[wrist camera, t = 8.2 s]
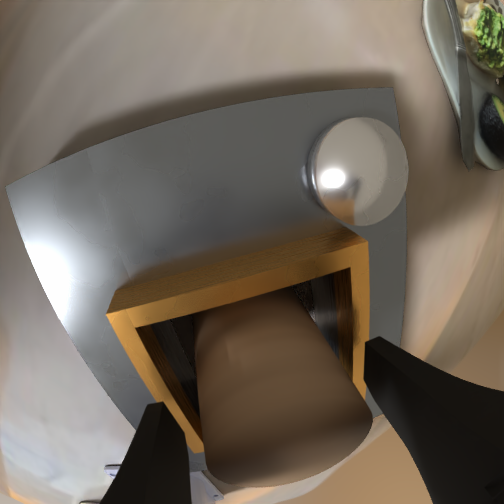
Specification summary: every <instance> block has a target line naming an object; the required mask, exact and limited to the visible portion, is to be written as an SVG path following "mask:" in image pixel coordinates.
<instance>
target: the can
mask: <svg viewBox="0 0 504 504" xmlns="http://www.w3.org/2000/svg"><path fill="white" fill-rule="evenodd" d="M80 504H99V503H95V502H81V503H80Z"/></svg>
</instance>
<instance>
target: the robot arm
mask: <svg viewBox="0 0 504 504" xmlns="http://www.w3.org/2000/svg"><path fill="white" fill-rule="evenodd" d="M363 380H364V382H365V384H366V386H367V388H368V390H369V392H370V393H371V395H372V397H373V399H374V401H375V402H376V404H377V405H378V407H379V408H380V410H381V411H382V412H383V414H384V415H385V417H386V418H387V420H388V421H389V422H390V424H391V425H392V427H393V428H394V429H395V431H396V432H397V434H398V435H399V436H400V438H401V439H402V441H403V442H404V444H405V445H406V447H407V448H408V450H409V452H410V454H411V456H412V458H413V460H414V462H415V464H416V466H417V468H418V470H419V472H420V474H421V476H422V478H423V480H424V483H425V485H426V487H427V490H428V492H429V494H430V497H431V499H432V502H433V504H504V391H499V390H495V389H491V388H487V387H483V386H480V385H476V384H474V383H471V382H468V381H465V380H463V379H460V378H458V377H455V376H453V375H451V374H448V373H446V372H444V371H442V370H440V369H438V368H436V367H434V366H432V365H430V364H428V363H426V362H424V361H422V360H420V359H419V358H417V357H415V356H413V355H411V354H410V353H408V352H406V351H404V350H403V349H401V348H399V347H398V346H396V345H394V344H393V343H391V342H389V341H387V340H386V339H384V338H382V337H381V336H378V337H376V338H373V339H371V340H368V341H366V342H365V352H364V374H363ZM104 472H105V473H107V474H108V475H109V476H110V477H111V478H113V479H114V480H113V482H112V484H111V485H110V487H109V489H108V490H107V492H106V494H105V495H104V497H103V499H102V500H101V502H100V503H99V504H215V501H218V500H222V499H224V496H223V494H222V493H221V492H220V491H219V490H218V489H217V488H216V487H215V486H214V485H213V484H212V483H211V482H210V481H209V479H208V478H207V477H206V476H205V475H204V474H203V473H202V472H201V471H198V472H191V473H190V467H189V455H188V448H187V443H186V437H185V432H184V431H183V429H182V428H181V427H180V425H179V424H178V422H177V421H176V419H175V418H174V416H173V415H172V414H171V412H170V411H169V409H168V408H167V406H166V404H165V403H164V401H162V402H157V403H151V404H147V406H146V408H145V410H144V413H143V415H142V418H141V420H140V423H139V425H138V428H137V430H136V433H135V435H134V437H133V440H132V442H131V444H130V447H129V449H128V451H127V453H126V456H125V458H124V460H123V462H122V464H121V466H106V467H104Z"/></svg>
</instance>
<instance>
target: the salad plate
mask: <svg viewBox="0 0 504 504" xmlns="http://www.w3.org/2000/svg"><path fill="white" fill-rule="evenodd" d="M422 27H423V31H424V34H425V37H426V40H427V43H428V46H429V49H430V52H431V55H432V57H433V59H434V62H435V64H436V66H437V69H438V71H439V73H440V76H441V78H442V80H443V83H444V85H445V88H446V91H447V94H448V97H449V100H450V103H451V106H452V109H453V112H454V115H455V118H456V122H457V125H458V131H459V137H460V145H461V151H462V158H463V161H464V163H465V165H466V167H467V169H468V171H471V169H472V168H473V167H474V161H476V162H478V163H479V164H480V165H482V166H484V167H485V168H486V169H489V170H494V171H499V170H501V169H504V6H503V4H502V3H501V2H500V1H499V0H423V16H422ZM497 78H498V79H499V85H498V84H497V82H496V79H497Z"/></svg>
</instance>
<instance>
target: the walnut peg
mask: <svg viewBox="0 0 504 504" xmlns="http://www.w3.org/2000/svg"><path fill="white" fill-rule="evenodd" d="M192 316H193V334H194V350H195V364H196V376H197V388H198V399H199V409H200V419H201V428H202V437H203V445H204V453H205V461H206V466H207V469H208V470H209V472H210V473H211V474H212V475H213V476H214V477H216V478H217V479H219V480H221V481H223V482H225V483H228V484H231V485H236V486H242V487H272V486H279V485H284V484H289V483H293V482H297V481H300V480H303V479H306V478H309V477H311V476H314V475H316V474H319V473H321V472H323V471H325V470H327V469H329V468H331V467H332V466H334V465H336V464H337V463H339V462H340V461H342V460H343V459H345V458H346V457H347V456H349V455H350V454H351V453H352V452H353V451H354V450H355V449H356V448H357V447H358V446H359V445H360V444H361V443H362V442H363V441H364V439H365V438H366V436H367V435H368V433H369V431H370V429H371V426H372V422H373V415H372V412H371V410H370V408H369V406H368V405H367V403H366V402H365V400H364V399H363V397H362V395H361V394H360V392H359V391H358V389H357V388H356V386H355V384H354V383H353V381H352V380H351V378H350V377H349V375H348V373H347V372H346V370H345V369H344V367H343V366H342V364H341V362H340V361H339V359H338V358H337V356H336V355H335V353H334V352H333V350H332V349H331V347H330V345H329V344H328V342H327V341H326V339H325V338H324V336H323V335H322V333H321V331H320V330H319V328H318V327H317V325H316V324H315V322H314V321H313V319H312V318H311V316H310V315H309V313H308V311H307V310H306V308H305V307H304V305H303V304H302V302H301V301H300V299H299V298H298V296H297V295H296V293H295V292H294V290H293V289H292V287H291V286H288V287H284V288H281V289H278V290H274V291H271V292H267V293H264V294H260V295H257V296H254V297H250V298H247V299H243V300H239V301H236V302H232V303H229V304H225V305H221V306H218V307H214V308H210V309H207V310H203V311H199V312H195V313H192Z"/></svg>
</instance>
